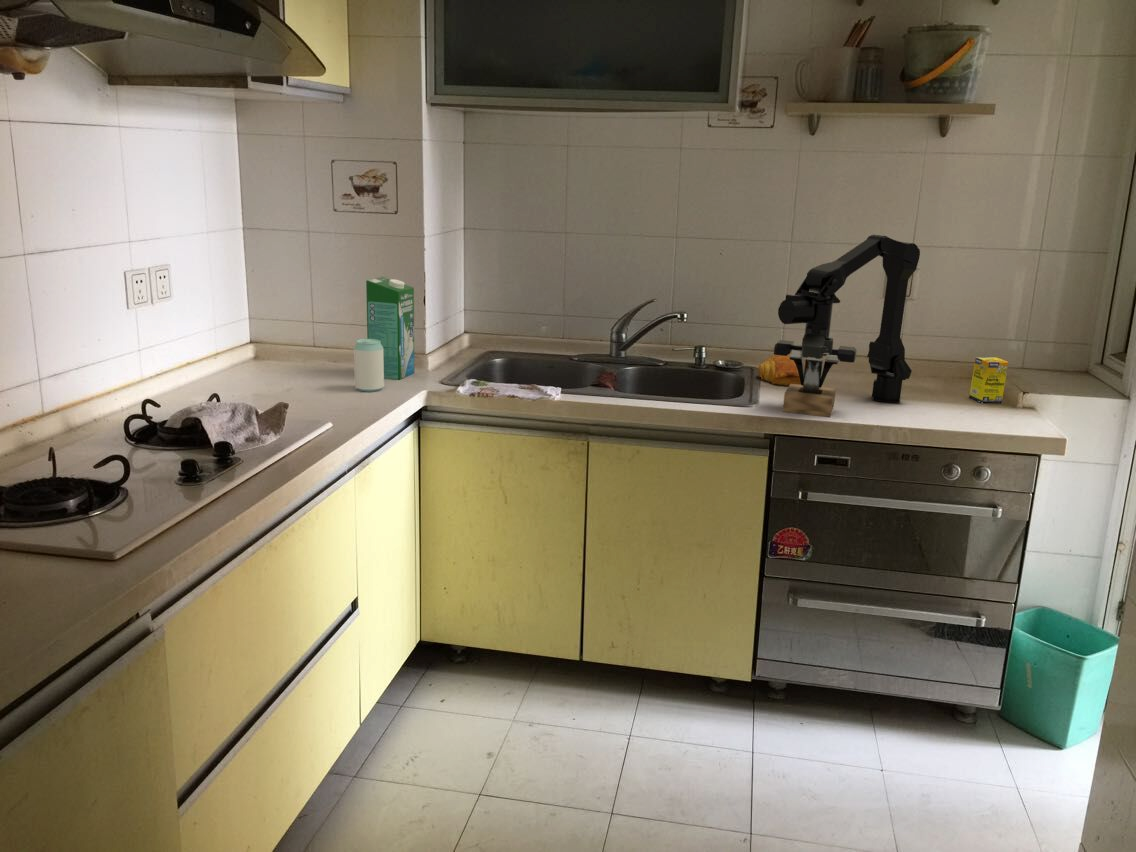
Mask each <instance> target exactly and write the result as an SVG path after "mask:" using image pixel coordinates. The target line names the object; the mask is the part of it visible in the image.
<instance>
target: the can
mask: <svg viewBox="0 0 1136 852" xmlns="http://www.w3.org/2000/svg"><path fill="white" fill-rule="evenodd" d="M355 342H356V344H355V345H354V347H353V367H354V373H353V374H354V375H353V376H354V388H356V389H357V390H358V391H361V392H370V393H371V392H378V391H380V390H381V389H383V388H384V386H385V378H384V357H383V346H382V345H381V343H380V342H381V341H380V340H376V339H367V338H361V339H358V340H356V341H355Z"/></svg>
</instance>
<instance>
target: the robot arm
mask: <svg viewBox="0 0 1136 852" xmlns="http://www.w3.org/2000/svg"><path fill="white" fill-rule="evenodd" d="M920 256H921V250H920V248H919V247H918V245H917V244H915V243H913V242H904V241H899V240H895V239H892V238H891V237H889V236H887V235H883V234H882V235H880V234H871V235H868V236H867V238H866V239H865V240H864V241H862V242H861V243H859V244H858V245H856V246H855V247H853V248H852V249H850V250H849V251H847V252H846V253H844V254H843V255H841V256H840V257H839V258H837V259H836V260H834V261H832V262H831V261H830V262H826V263H821V264H820V265H816V266H815V267H812V268H811V269H809V270H808V272H807V273H806V276H805V279H804V280H803V281H802V282H801V284H800V286H799V287H798V289H797V291H795V294H786V295H785V299H784V300H782V301H781V303H780V304H779V306H778V308H777V315H778V318H779V322H781V323H782V324H784V325H794V324H795V325H796V324H805V327H804V335H803V337H802V342H801V345H797V344H794V343H795V341H793V340H784V339H779V340H778V341H777V342H776V343H775V344H774V347H773V356H774V355H778V356H790V357H789V359H790V360H793V361H794V362H795V364H796V367H797V369H798V373H799V378H800V382H801V385H802V386H803V380H804V359H807V358H816V359H821V360H822V359H823V357H826V358H825V360H824V363H823V367H822V372H821V380H820V388H821V387H823V384H824V382H825V379H826V377H827V375H828V373H829V371H830V370H831V368H832V366H833V365H838V364H839V362H841V363H855V361H856V357H857V356H856V355H857V349H856V348H855V346H846V345H839V347H838V349H837V348H833V347H834V338H832V337H830V331H831V325H832V324H831V323H832V314H833V313H832V312H833V305H834V304H840V303H841V300H840V298H839V297H837V295H836V293H837V292H838V291H839V290H840V289H841V288H842V287H843V286H844V285H845V284H846V281H847V278H848V277H849V276H851V275H852V274H853V273H855V272H857V271H858V270H859V269H861V268H862V267H864V266H865V265H867V264H868V263H870V262H871V261H872V260H874V259H875V258H877V257H880V258H882V268H883V270H884V273H885V275H886V284H885V291H884V298H883V299H884V300H883V308H882V314H881V322H880V329H879V335H878V336H877V338H876V339H875V340H874V341H870V342H869V344H868V353H867V355H866V358H868V363H869V366H870V372H871V374H875V375H876V378H875V379H874V380H873V383H872V385H873V386H872V393H871V397H872V398H873V399H872V400H873V401H877V402H884V403H885V402H886V403H887V402H888V403H895V404H901V400H902V398H901V394H902V386H903V382H904V381H906V380H908V379H910V378H911V374H912V372H913V370H912V369H911V367H910V365H908V363H907V362H906V360H905V358H906V355H905V353H906V352H905V351H906V349H905V345H904V343H903V341H902V337H901V335H902V334H901V333H902V327H903V326H902V325H903V320H904V313H905V306H906V299H907V292H908V291H907V290H908V286H909V285H908V284H909V280H910V278H911V277H912V275H914V273H915V271H916V270H917V267H918V263H919V260H920Z"/></svg>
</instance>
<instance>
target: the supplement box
mask: <svg viewBox="0 0 1136 852" xmlns="http://www.w3.org/2000/svg"><path fill="white" fill-rule="evenodd" d="M1009 363H1010V362H1009V361H1007V360H1004V359H1002V358H1000V357H999V358H998V357H986V356H985V357H979V356H976V357H975V359H974V365H973V370H972V377H971V383H970V389H969V395H968V398H969V397H971V398H973V399H972V400H974V399H975V400H974V401H976V400H977V401H976V402H978V401H980V402H998V403H997V404H1001V403H1000V402H1003V396H1004V391H1005V386H1006V379H1007V374H1008V367H1009ZM971 398H970V399H971ZM980 402H979V403H980Z"/></svg>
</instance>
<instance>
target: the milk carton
mask: <svg viewBox="0 0 1136 852" xmlns="http://www.w3.org/2000/svg"><path fill="white" fill-rule="evenodd" d="M365 284H366V285H365V288H366V290H365V291H366V331H367V332H366V333H367V338H366V339H376V340H380V341H381V342H380V343H381V345H382V346H383V357H384V379H388V380H389V379H391V380H397V381H398V380H400V381H401V380H402V379H404V378H407V377H408V376H410V375H413V374H415V287H413V286H410V285H408V284H406V283H405V281H402V280H399V279H397V278H396V279H394V278H388V277H385V276H379V277H375V278H371V279H367V280H366V281H365Z"/></svg>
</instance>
